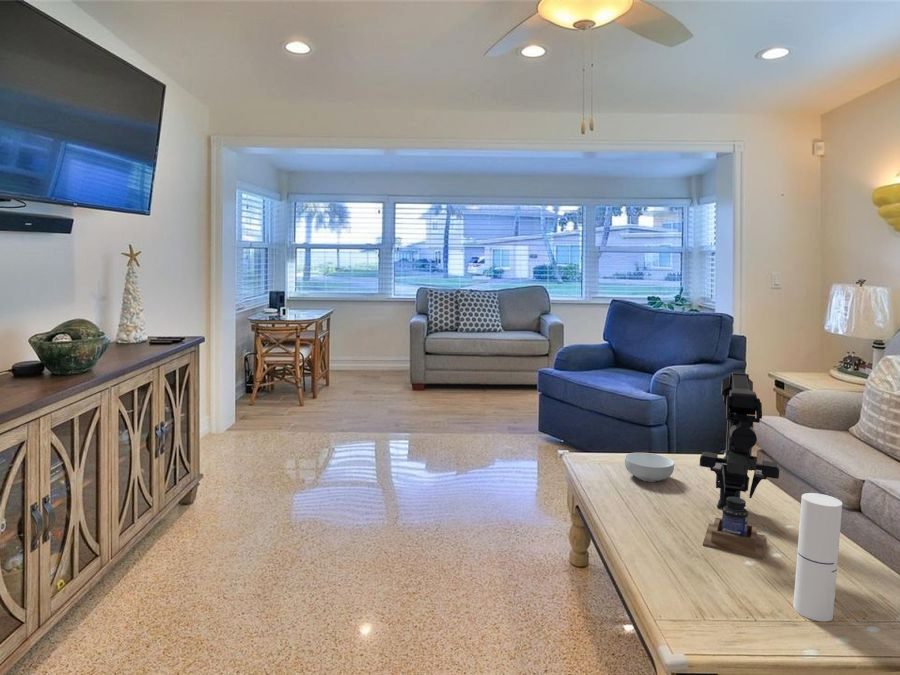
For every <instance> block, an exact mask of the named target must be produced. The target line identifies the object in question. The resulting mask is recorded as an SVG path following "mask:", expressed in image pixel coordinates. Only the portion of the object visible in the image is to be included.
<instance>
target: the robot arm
mask: <svg viewBox="0 0 900 675" xmlns="http://www.w3.org/2000/svg"><path fill="white" fill-rule="evenodd" d="M720 396H721V397H722V400H723V403H724V405H725V407H726V408H725V410H726V412H725V418H726V421H727V423H726V438H725V440H726V442H725V454H724V457H719V455H718V453H716V452H709V451H704V452H702V453H701V455H700V457H699V466H700V467H703V468H709V469H710V471H711V472H714V473H715V488H716V489H720V490H719V499H718V501H717V504H716V508H717V509H721V510H723V508H724V507H725V506H726V505H727V504H726V498H728V497H737V498H741V492H744V493H747V491H749V498H748V499H752V497H753V495H754V493H755V490H756V488H757V486H758V485H759V483H760V482H761V481H763V480H767V478H770V479H776V480H777V479H779V478H780V464H779V463H778V462H777V461H768V460H762V463H757V462H758V456H754V455H753V454H752V453H753V448H754V447H755V445H756V444H757V440H758V437H757V434H756V431H755V429H754V424H755V423H756V424H757V423H759V424H760V421H761V420H762V418H763V405H762V402H761V399H760V398H759V397H758V396H757V393H756V392H755V391H754V382H753V381H752V380H751V378H750V376H749V374H747V373H746V372H733V371H732V372H730V373H729V375H728V376H727V377H725V378H723V379H722V381H721V389H720ZM749 471H754V473H753V477H752V480H751V485H750V477H749V475H748V473H749ZM749 485H750V488H749ZM749 489H750V490H749Z"/></svg>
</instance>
